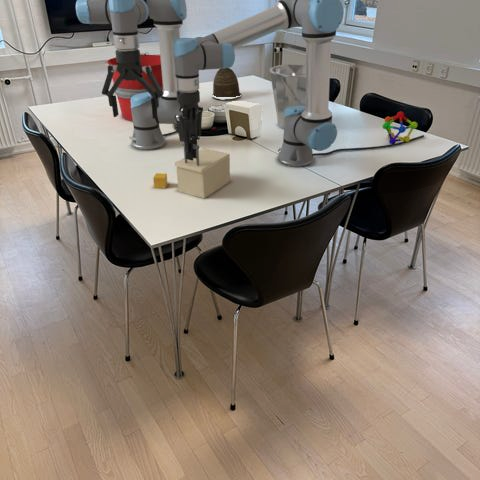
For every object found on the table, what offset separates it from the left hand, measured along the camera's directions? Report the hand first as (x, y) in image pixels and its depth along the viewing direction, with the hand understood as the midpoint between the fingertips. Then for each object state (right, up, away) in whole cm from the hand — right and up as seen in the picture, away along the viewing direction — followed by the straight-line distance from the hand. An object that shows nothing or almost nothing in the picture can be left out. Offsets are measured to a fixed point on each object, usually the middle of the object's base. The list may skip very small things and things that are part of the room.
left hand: (135, 116), depth 150 cm
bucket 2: (+65, +19, +84) cm, 107 cm away
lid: (+22, -13, +13) cm, 29 cm away
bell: (+27, +49, +132) cm, 143 cm away
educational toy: (+110, +4, +61) cm, 125 cm away
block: (+5, -21, +19) cm, 29 cm away
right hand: (+18, -13, +7) cm, 23 cm away
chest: (+22, -21, +19) cm, 36 cm away
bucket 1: (-18, +28, +98) cm, 103 cm away
